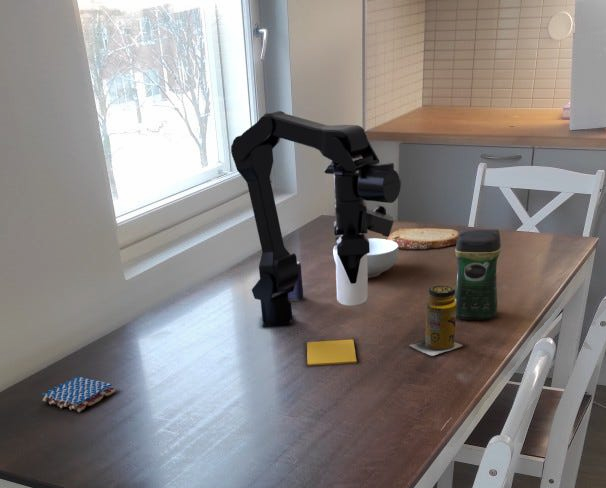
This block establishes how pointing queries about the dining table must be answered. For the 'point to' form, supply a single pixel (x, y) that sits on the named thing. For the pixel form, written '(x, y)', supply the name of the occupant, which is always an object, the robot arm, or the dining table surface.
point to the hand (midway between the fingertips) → (352, 278)
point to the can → (352, 292)
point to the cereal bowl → (379, 256)
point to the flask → (297, 287)
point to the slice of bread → (424, 238)
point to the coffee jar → (477, 273)
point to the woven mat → (78, 393)
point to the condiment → (439, 321)
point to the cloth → (331, 352)
